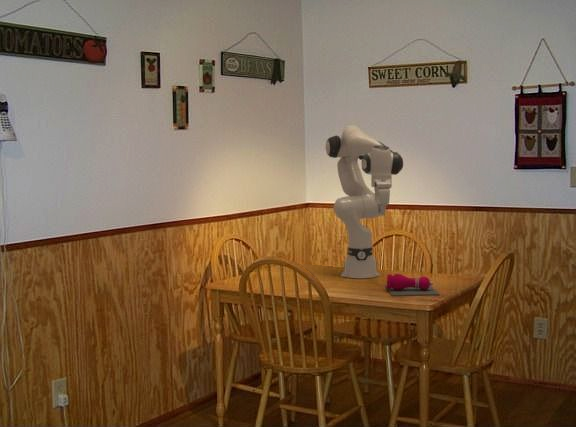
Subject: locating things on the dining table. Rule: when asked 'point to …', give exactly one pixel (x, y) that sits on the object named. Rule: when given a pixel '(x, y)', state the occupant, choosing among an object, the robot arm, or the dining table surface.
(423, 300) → the dining table surface
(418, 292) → the mat
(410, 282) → the pepper mill
